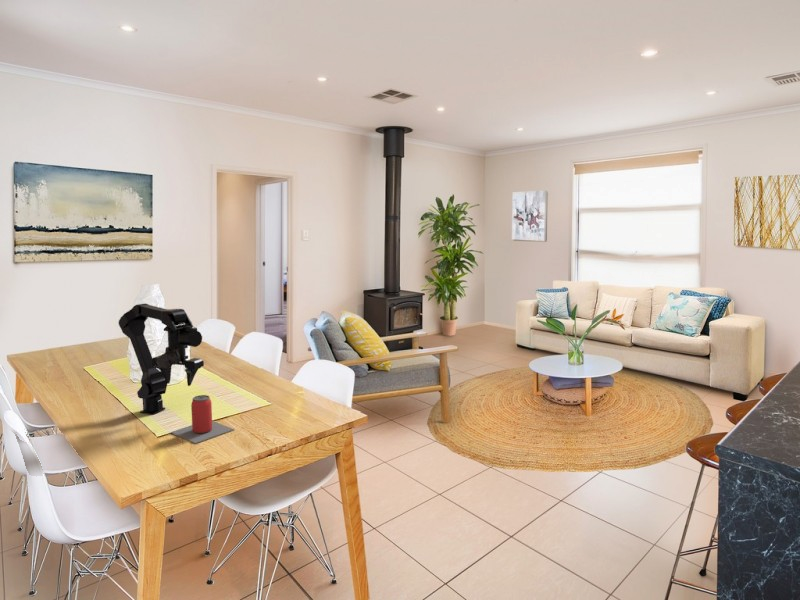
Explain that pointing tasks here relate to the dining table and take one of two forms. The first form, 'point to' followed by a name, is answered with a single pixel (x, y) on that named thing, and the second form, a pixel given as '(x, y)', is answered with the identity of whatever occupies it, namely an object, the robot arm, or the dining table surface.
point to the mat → (200, 437)
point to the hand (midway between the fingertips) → (178, 384)
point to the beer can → (201, 414)
